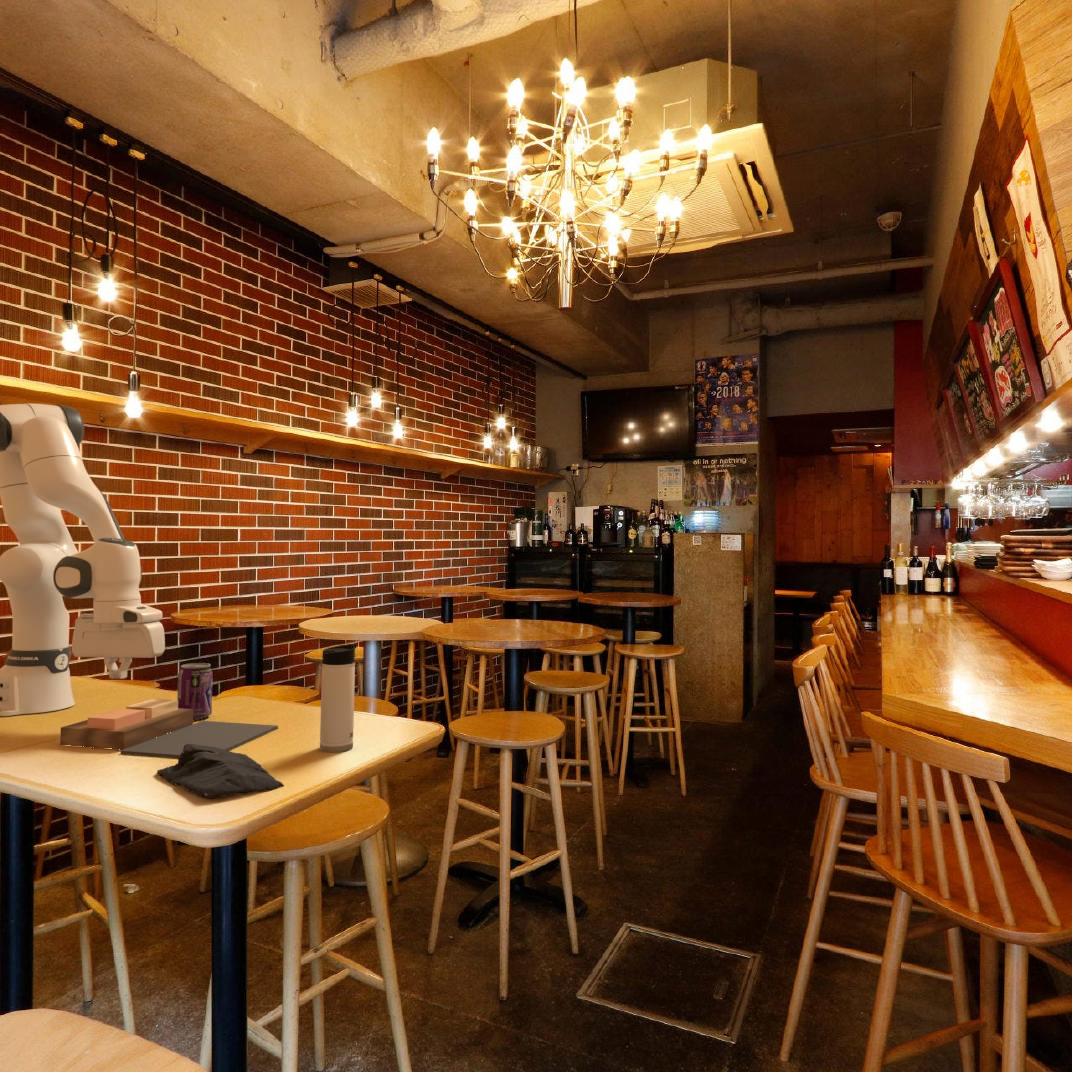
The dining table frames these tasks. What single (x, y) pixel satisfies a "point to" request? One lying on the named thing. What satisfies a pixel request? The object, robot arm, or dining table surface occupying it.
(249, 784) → the crumpled black cloth
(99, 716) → the tilted orange prism
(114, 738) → the walnut board
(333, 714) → the travel mug
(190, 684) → the beverage can
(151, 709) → the tan rectangular block
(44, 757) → the dining table surface
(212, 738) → the mat
